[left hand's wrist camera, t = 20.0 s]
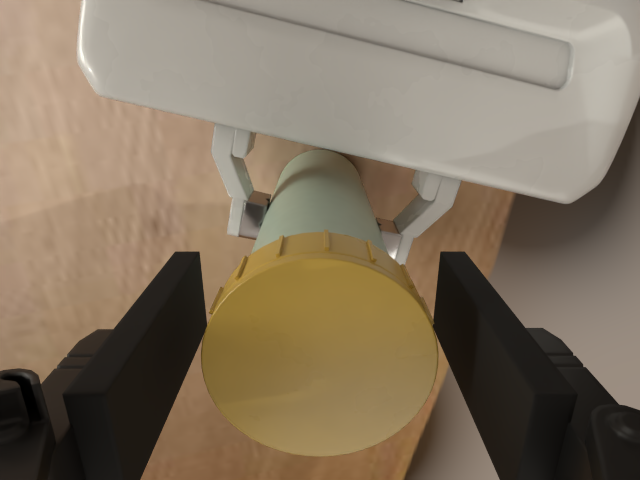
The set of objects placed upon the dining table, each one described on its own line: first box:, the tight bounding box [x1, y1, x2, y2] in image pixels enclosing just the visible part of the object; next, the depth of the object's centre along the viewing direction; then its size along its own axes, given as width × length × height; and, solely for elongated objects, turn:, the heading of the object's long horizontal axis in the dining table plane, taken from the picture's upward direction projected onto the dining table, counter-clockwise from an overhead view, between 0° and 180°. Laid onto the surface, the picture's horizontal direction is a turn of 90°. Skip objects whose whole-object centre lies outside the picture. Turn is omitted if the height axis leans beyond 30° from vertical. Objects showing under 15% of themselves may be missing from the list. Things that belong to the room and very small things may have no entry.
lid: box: [201, 229, 438, 457], centre depth 11 cm, size 6×6×2 cm
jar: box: [251, 150, 389, 255], centre depth 19 cm, size 5×5×16 cm
